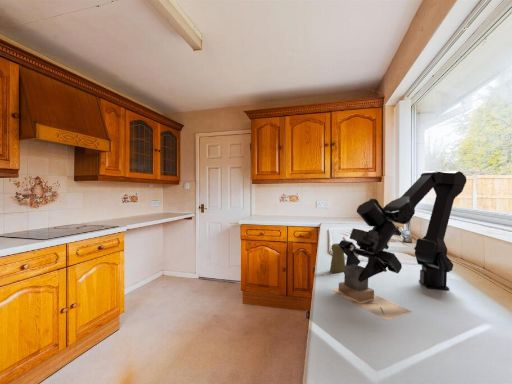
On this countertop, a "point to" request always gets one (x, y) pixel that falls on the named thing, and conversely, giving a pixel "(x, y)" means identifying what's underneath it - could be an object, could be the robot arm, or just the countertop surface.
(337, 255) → the cork
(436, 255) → the robot arm
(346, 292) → the sanding block
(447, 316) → the countertop surface
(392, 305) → the pine board
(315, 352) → the countertop surface
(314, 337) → the countertop surface
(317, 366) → the countertop surface
